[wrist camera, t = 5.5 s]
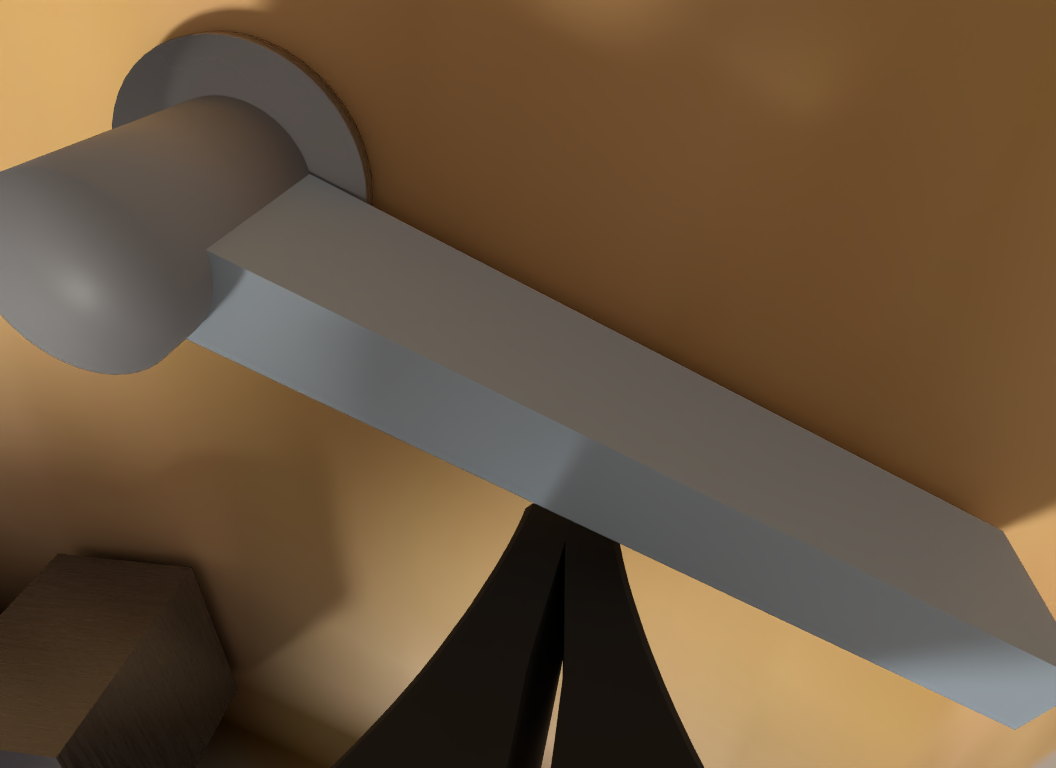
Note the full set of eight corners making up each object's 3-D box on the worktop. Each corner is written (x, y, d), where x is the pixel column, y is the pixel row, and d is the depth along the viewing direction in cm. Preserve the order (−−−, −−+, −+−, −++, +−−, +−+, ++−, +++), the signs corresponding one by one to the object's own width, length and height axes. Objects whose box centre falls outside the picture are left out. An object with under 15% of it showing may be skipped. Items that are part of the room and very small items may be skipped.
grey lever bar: (1029, 510, 11) (1157, 709, 8) (922, 593, 12) (1002, 791, 9) (172, 63, 9) (-36, 122, 6) (146, 210, 10) (-39, 316, 8)
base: (386, 293, 11) (380, 302, 11) (167, 283, 11) (156, 291, 11) (351, 30, 9) (343, 33, 9) (88, 30, 9) (74, 34, 9)
